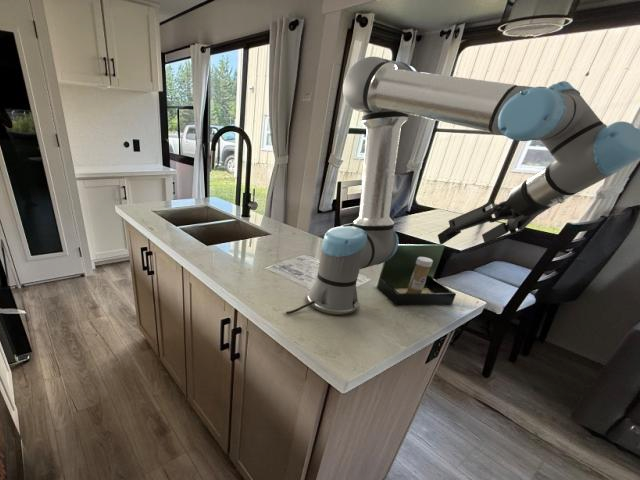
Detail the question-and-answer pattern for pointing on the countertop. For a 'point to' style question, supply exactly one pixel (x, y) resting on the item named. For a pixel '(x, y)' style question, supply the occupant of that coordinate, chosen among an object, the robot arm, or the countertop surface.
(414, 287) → the sprinkles bottle
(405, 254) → the box
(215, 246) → the countertop surface
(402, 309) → the countertop surface
